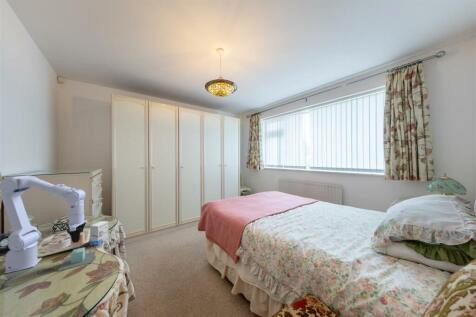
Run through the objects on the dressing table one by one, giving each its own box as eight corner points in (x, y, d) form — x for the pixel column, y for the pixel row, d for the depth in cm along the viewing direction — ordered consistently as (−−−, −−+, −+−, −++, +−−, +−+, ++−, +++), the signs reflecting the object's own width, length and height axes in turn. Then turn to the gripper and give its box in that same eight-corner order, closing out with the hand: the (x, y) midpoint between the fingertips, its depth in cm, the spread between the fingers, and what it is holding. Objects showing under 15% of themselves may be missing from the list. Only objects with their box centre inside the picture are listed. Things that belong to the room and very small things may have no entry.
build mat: (57, 271, 82) (57, 270, 82) (66, 258, 92) (66, 257, 92) (90, 263, 88) (90, 262, 88) (95, 251, 98) (95, 251, 98)
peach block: (70, 246, 87) (70, 236, 87) (73, 242, 91) (73, 233, 91) (82, 244, 90) (82, 234, 90) (84, 240, 94) (84, 231, 93)
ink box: (98, 245, 105) (97, 226, 105) (89, 245, 105) (89, 226, 105) (108, 238, 114) (108, 220, 114) (101, 238, 114) (100, 220, 114)
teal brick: (70, 263, 87) (70, 253, 87) (73, 259, 91) (73, 249, 91) (82, 261, 89) (82, 251, 89) (85, 256, 93) (84, 247, 93)
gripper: (83, 216, 86) (83, 244, 86) (89, 208, 98) (90, 232, 99) (63, 219, 82) (64, 248, 82) (72, 210, 95) (73, 236, 95)
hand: (77, 240), depth 90 cm, fingers closed on peach block, 4 cm apart
